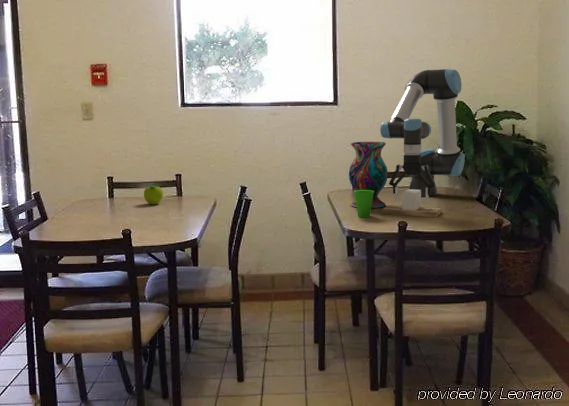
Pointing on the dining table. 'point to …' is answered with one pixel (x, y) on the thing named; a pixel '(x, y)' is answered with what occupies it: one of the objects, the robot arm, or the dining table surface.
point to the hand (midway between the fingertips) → (411, 201)
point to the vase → (368, 170)
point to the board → (420, 212)
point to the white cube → (411, 200)
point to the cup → (364, 202)
